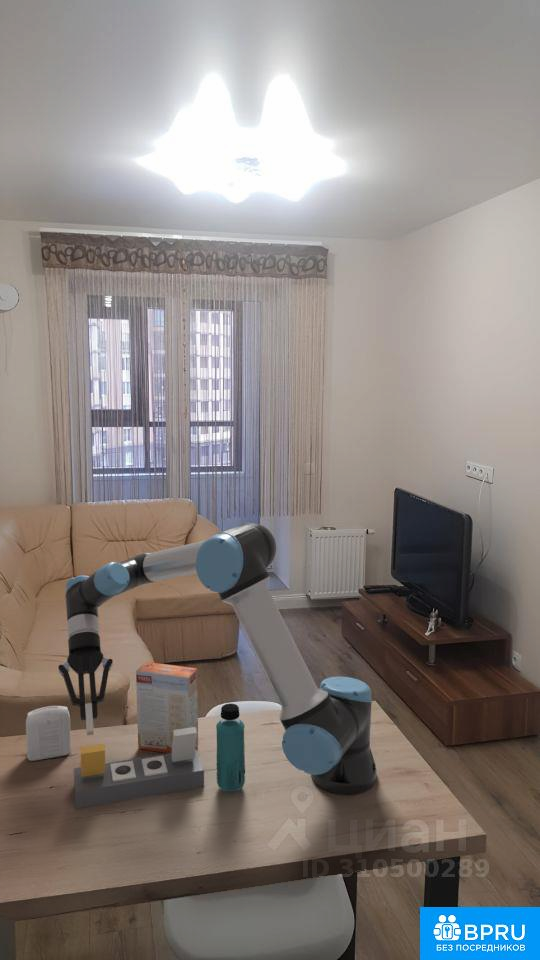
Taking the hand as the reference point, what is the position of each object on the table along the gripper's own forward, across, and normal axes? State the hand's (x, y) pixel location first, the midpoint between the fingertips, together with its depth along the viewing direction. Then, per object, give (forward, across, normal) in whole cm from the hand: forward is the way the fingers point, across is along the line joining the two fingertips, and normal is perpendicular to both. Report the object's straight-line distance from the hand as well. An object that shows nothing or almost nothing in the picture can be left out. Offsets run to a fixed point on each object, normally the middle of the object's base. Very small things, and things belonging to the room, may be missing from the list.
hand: (90, 733), depth 159 cm
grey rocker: (+9, -20, 0) cm, 22 cm away
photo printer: (-1, +9, -16) cm, 19 cm away
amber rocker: (+9, 0, 0) cm, 9 cm away
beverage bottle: (+18, -30, +2) cm, 34 cm away
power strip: (+12, -10, -3) cm, 16 cm away
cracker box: (+3, -19, -13) cm, 23 cm away
